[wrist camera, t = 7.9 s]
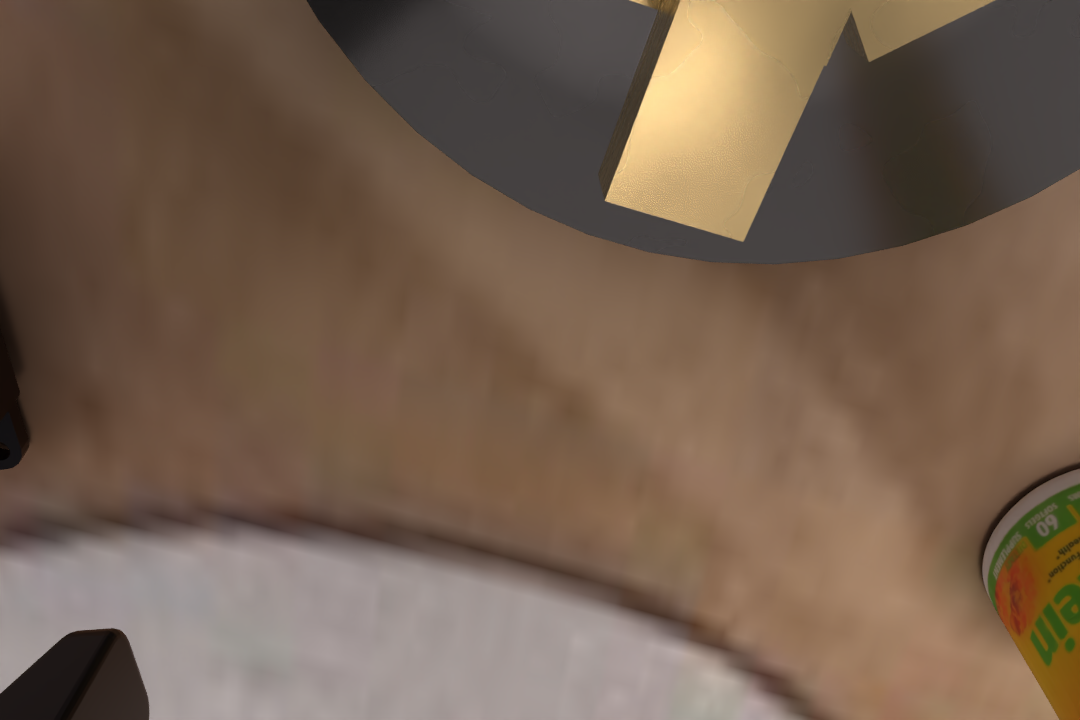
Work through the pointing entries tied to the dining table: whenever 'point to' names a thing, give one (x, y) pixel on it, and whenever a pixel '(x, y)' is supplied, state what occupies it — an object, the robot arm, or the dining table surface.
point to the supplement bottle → (1042, 586)
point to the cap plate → (810, 157)
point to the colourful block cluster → (737, 97)
